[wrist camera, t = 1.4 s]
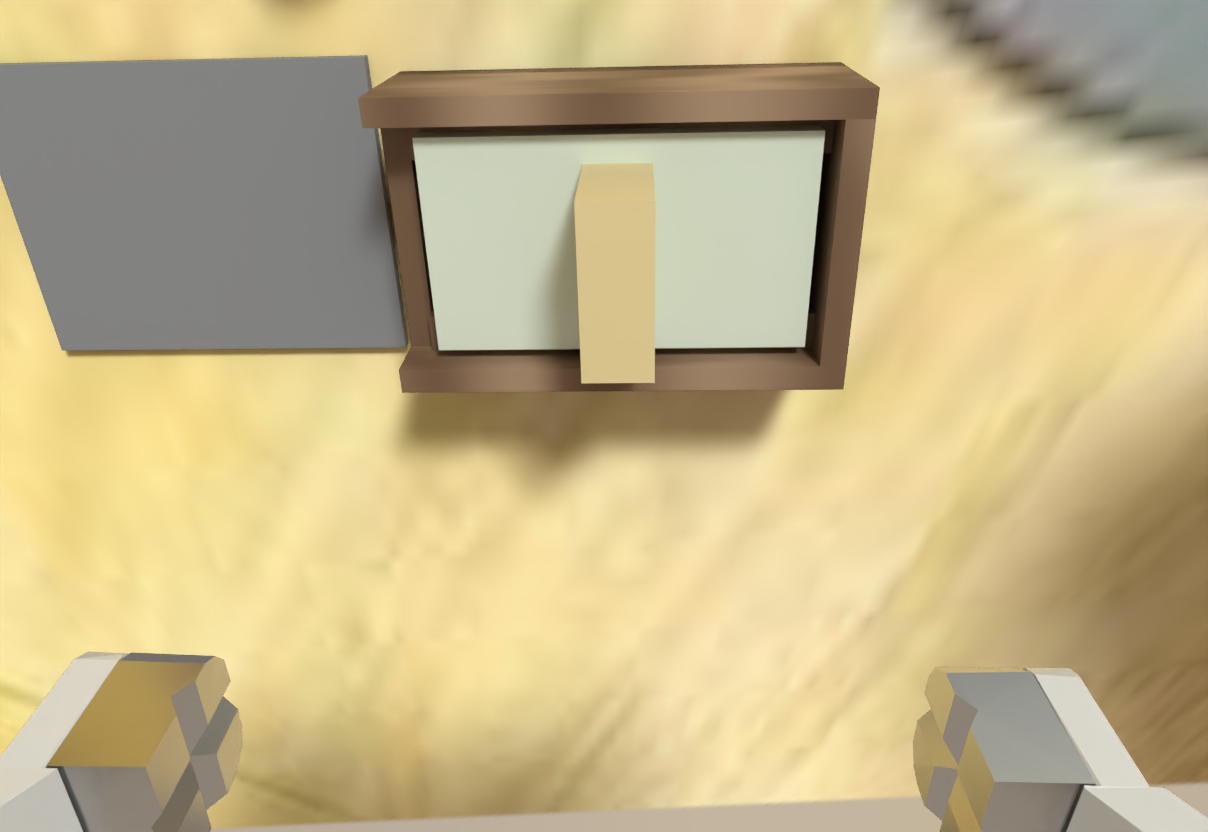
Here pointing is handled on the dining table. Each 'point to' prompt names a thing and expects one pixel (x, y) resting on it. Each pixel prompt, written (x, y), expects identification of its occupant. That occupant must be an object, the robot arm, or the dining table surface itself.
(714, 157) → the lid
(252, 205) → the mat
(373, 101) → the box
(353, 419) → the dining table surface
